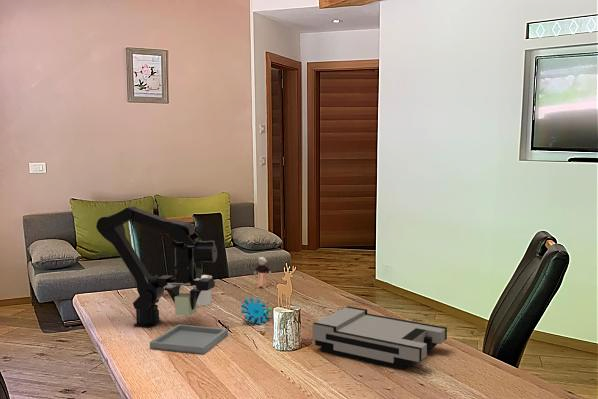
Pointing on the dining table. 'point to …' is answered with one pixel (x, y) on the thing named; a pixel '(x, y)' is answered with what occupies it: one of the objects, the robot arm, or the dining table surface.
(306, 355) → the dining table surface
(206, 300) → the drinking glass
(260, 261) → the grandmother figurine
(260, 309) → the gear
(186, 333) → the tray
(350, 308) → the game console
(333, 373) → the dining table surface
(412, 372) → the dining table surface
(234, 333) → the dining table surface
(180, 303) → the sage block
